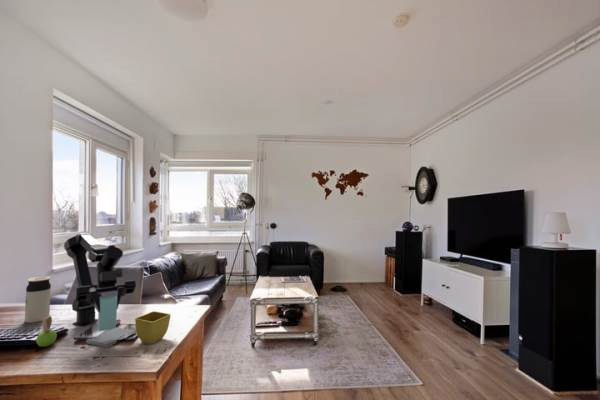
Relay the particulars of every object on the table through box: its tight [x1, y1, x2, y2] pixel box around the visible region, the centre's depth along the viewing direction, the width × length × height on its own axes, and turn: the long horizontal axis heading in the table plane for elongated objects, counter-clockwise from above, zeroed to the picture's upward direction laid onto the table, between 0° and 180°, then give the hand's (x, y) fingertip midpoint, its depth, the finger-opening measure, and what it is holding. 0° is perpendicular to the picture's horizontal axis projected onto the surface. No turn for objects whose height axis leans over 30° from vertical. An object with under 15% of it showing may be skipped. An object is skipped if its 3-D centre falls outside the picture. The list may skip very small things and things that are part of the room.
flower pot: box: [134, 310, 171, 345], centre depth 107 cm, size 9×9×9 cm
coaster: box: [85, 326, 136, 348], centre depth 108 cm, size 10×12×1 cm
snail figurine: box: [35, 315, 58, 348], centre depth 101 cm, size 5×6×12 cm
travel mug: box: [24, 276, 52, 324], centre depth 125 cm, size 8×8×18 cm
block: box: [97, 294, 118, 332], centre depth 105 cm, size 5×5×11 cm
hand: (108, 310), depth 104 cm, fingers closed on block, 5 cm apart
